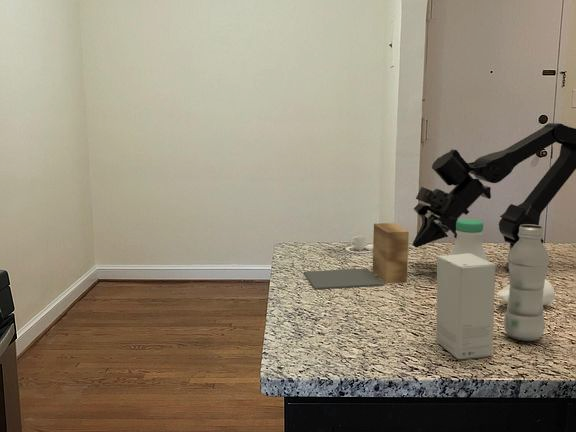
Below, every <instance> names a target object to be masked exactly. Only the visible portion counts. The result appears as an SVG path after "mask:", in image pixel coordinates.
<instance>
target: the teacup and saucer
mask: <svg viewBox="0 0 576 432" xmlns="http://www.w3.org/2000/svg"><path fill="white" fill-rule="evenodd" d="M352 240H353V243H354V245H353V244H352ZM349 243H350V244H351V246H346V248H345V251H346V252H349V253H354V254H355V253H356V254H366V253H373V243H370V244H367V245H366V236H365V235H354V237H351V238H350V239H349ZM351 248H354V249H355V251H352V250H350V249H351ZM359 250H361V251H359ZM364 250H366V251H364Z"/></svg>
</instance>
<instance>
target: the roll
mask: <svg viewBox="0 0 576 432" xmlns="http://www.w3.org/2000/svg"><path fill="white" fill-rule="evenodd" d="M543 290H544V291H543V306H548V305H550V304H552V303H553V301H554V300H555V297H556V291H555V289H554V287H553V285H552V283H550V281H548V279H546V278H545V283H544V288H543ZM509 291H510V283H508V284H507V285H506V286H505V287H504V288H501V289H500V290H499V291H498V292H496V295H497V296H498V297H499V298H500V299H501V300H502V301H503V302H505V303H507V304H508V299H509Z"/></svg>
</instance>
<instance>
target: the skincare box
mask: <svg viewBox="0 0 576 432" xmlns="http://www.w3.org/2000/svg"><path fill="white" fill-rule="evenodd" d="M436 265H437V266H436V325H435V326H436V329H435V330H436V332H435V333H436V334H435V335H436V336H435V338H436V339H435V341H436V343H438V344H439V346H441V347H442V348H444V350H446V351H447V352H449V353H450V354H451V355H452V356H454V358H455V359H458V360H467V359H468V360H469V359H470V360H471V359H478V358H485V357H491V356H493V354H494V353H493V351H494V350H493V349H494V347H493V345H494V323H495V322H494V319H495V318H494V317H495V292H496V291H495V290H496V289H495V288H496V266H497V265H496V264H495V263H493V262H491V261H489V260H488V261H487V260H484V259H482V258H480V257H477V256H475V255H473V254H471V253H466V254H456V255H449V254H447V255H438V256H437V260H436Z"/></svg>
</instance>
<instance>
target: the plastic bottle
mask: <svg viewBox="0 0 576 432" xmlns="http://www.w3.org/2000/svg"><path fill="white" fill-rule="evenodd" d="M543 232H544V227H543V226H541V225H539V226H538V225H530V224H525V225H520V227H519V233H518V237H520V238H519V240H518V241H517V242H516V243H515V244H514V246H513V247H512V248H511V249H510V248H509V251H508V253H507V263H508V264H509V271H508V273H509V275H508V276H509V284H510V291H509V299H508V303H507V307H506V310H505V314H504V317H503V327H504V329H503V330H504V331H505V333H506V334H507V335H508V336H509V337H510V338H512V339H516V340H519V341H526V342H532V341H534V342H535V341H538V340H540V338H541V337H542V336H544V332H545V328H546V322H545V315H544V305H543V291H544V290H543V288H544V283H545V279H546V277H547V272H548V269H549V268H548V267H549V264H550V255H549V252H548V250H547V249H546V246H544V243H543V244H542V242H541V239H543V238H544V234H543Z"/></svg>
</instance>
